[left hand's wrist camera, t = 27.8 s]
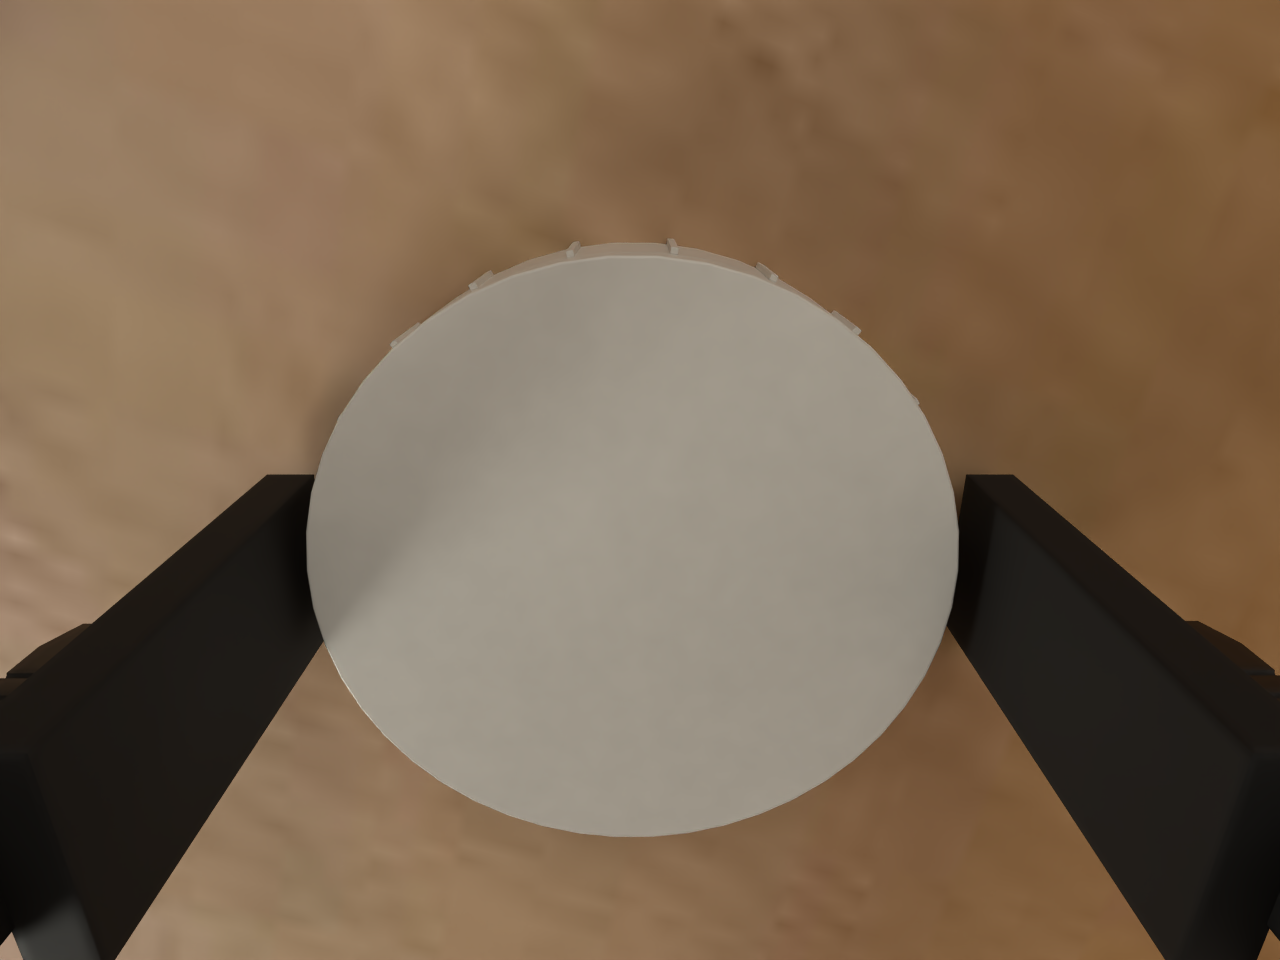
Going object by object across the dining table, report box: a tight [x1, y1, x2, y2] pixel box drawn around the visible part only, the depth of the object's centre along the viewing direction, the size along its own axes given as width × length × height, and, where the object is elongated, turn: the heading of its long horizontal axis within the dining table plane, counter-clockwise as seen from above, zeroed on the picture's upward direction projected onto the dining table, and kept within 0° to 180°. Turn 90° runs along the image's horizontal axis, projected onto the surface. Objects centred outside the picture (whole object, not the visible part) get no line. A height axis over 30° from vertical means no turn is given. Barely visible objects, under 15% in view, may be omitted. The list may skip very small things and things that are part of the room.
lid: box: [306, 238, 959, 837], centre depth 13 cm, size 10×10×2 cm
